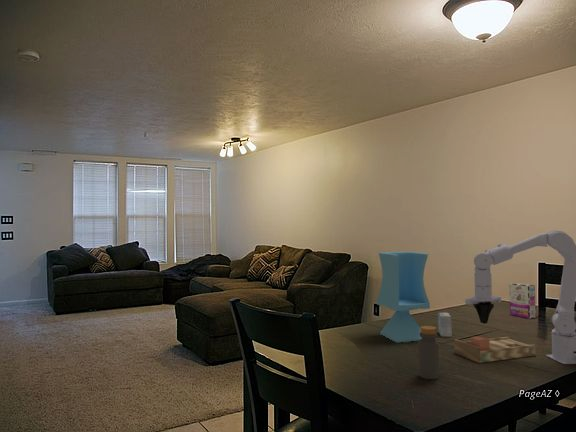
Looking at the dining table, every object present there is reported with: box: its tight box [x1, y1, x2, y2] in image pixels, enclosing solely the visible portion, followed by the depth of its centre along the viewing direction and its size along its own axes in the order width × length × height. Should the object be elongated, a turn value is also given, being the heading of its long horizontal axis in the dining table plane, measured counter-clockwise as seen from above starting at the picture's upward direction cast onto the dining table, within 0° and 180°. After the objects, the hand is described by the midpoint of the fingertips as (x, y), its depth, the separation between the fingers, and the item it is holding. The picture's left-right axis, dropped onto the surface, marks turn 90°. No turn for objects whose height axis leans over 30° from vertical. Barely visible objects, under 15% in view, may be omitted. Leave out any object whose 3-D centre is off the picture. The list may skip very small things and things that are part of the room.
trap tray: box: [453, 336, 536, 364], centre depth 160 cm, size 24×12×5 cm, turn 108°
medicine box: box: [437, 312, 453, 338], centre depth 189 cm, size 8×4×9 cm, turn 168°
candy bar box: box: [509, 282, 537, 320], centre depth 223 cm, size 11×5×16 cm, turn 25°
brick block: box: [470, 335, 490, 351], centre depth 155 cm, size 4×4×4 cm
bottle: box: [418, 325, 440, 380], centre depth 138 cm, size 6×6×15 cm
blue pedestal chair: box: [376, 251, 431, 344], centre depth 185 cm, size 16×16×35 cm
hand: (483, 322), depth 164 cm, fingers closed
